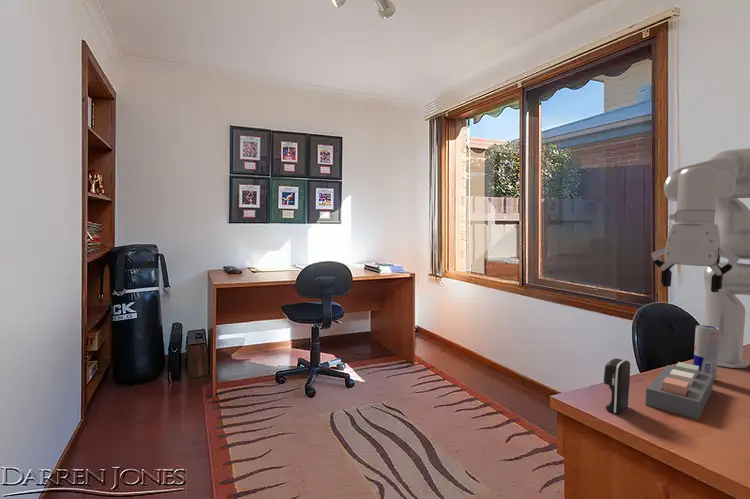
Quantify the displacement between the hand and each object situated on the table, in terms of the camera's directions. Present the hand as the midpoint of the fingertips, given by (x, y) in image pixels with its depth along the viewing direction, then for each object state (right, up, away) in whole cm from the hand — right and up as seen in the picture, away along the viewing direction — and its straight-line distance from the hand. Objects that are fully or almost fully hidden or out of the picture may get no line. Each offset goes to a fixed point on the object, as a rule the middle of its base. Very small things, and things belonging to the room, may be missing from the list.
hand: (689, 289), depth 99 cm
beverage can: (+16, -27, +15) cm, 35 cm away
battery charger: (-21, -28, -4) cm, 35 cm away
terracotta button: (-6, -25, -3) cm, 26 cm away
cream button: (0, -25, +3) cm, 25 cm away
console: (0, -27, +3) cm, 27 cm away
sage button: (+6, -24, +8) cm, 26 cm away
